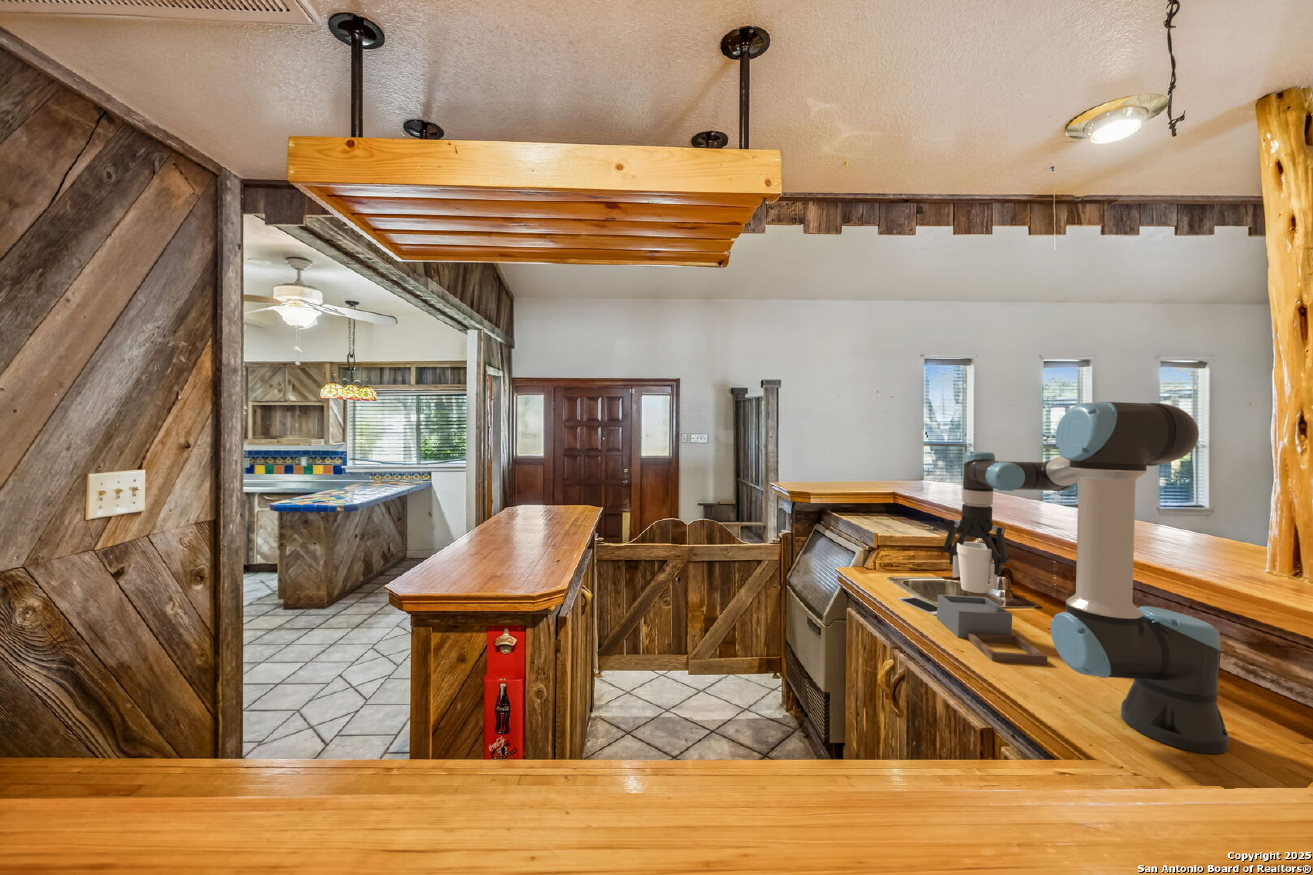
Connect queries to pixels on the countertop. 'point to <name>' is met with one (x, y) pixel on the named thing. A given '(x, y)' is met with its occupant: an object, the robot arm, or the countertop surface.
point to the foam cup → (974, 566)
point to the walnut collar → (1032, 656)
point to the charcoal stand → (973, 615)
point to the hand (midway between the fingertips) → (973, 580)
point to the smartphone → (919, 604)
